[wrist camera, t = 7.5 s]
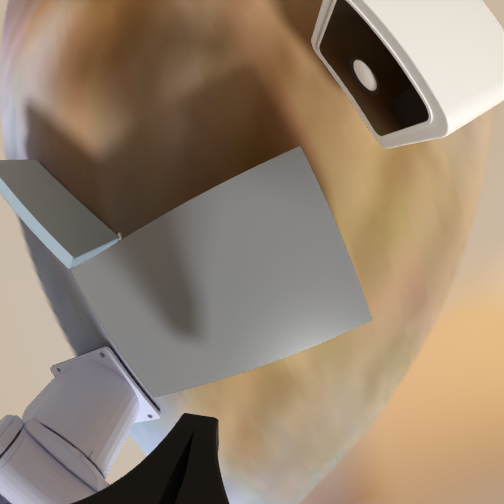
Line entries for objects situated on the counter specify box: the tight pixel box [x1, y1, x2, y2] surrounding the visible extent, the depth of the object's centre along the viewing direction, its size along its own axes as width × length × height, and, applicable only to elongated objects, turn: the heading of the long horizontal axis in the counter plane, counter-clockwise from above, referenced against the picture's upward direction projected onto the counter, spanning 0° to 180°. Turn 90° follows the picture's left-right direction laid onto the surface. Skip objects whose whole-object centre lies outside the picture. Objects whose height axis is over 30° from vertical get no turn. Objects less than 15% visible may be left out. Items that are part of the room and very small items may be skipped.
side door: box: [0, 160, 119, 269], centre depth 15 cm, size 10×2×5 cm, turn 52°
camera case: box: [72, 146, 372, 397], centre depth 15 cm, size 12×8×6 cm, turn 116°
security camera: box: [311, 0, 504, 149], centre depth 10 cm, size 6×7×10 cm
